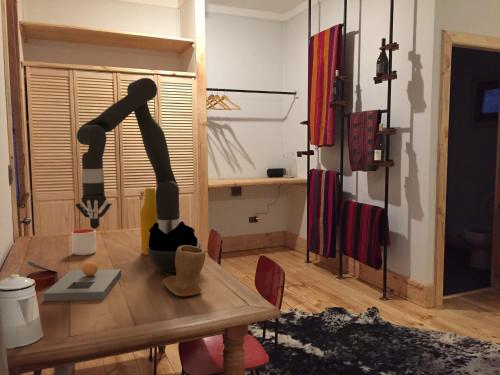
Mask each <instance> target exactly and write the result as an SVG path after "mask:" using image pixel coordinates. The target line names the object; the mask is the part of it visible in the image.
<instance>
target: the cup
mask: <svg viewBox="0 0 500 375" xmlns="http://www.w3.org/2000/svg"><path fill="white" fill-rule="evenodd" d="M96 230H97V229H92V228H84V229H83V228H82V229H75V230H73V231H71V249H72V250H71V251H72V254H73V255H76V256H88V255H89V256H90V255H92V254H95V253H96V252H97V232H96Z"/></svg>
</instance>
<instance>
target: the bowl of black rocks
mask: <svg viewBox="0 0 500 375" xmlns="http://www.w3.org/2000/svg"><path fill="white" fill-rule="evenodd" d="M149 232H150V236H149V245H148V246H147V252H148V255H147V256H148V258H149V260H150V261H151V263H152V264H153V265H154V266H155V267H156V268H158V269H159V270H161V271H164V272H168V273H176V267H175V256H176V250H177V248H178V247H180V246H183V245H189V246H194V247H198V248H201V243H199V241H198V238H197V236H196V234H195V229H194V228H193V227H192V226H189V225H187V224H185V222H184V221H181V220H180V223H179V225H177V227H176V228H175V229H173V230H172V231H170V232H169V233H168V234H165V233H164V232H163V231H161V230H160V229H159V223H157V222H156V223H154V224H153V226H152V227H151V228H150V230H149Z"/></svg>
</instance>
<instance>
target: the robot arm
mask: <svg viewBox="0 0 500 375" xmlns="http://www.w3.org/2000/svg"><path fill="white" fill-rule="evenodd" d="M126 89H127V90H126V93H127V94H126V96H124V97H123V98H120V99H119V100H117V101H115V102H114V103H113V104H112V105H110V106H109V107H107V108H105V110H104V111H102V113H100V114H99V115H98V116H96V117H95V118H93V119H91V120H88V121H87V122H85V123H84V124H82V125H81V126H80V127H79V129H77V132H76V139H77V141H78V143H79V144H82V145H84V146H88V148H87V149H88V150H87V151H86V152H84V153H83V154H82V157H81V167H82V168H81V171H82V172H81V187H82V188H81V189H82V196H81V199H80V201H79V202H77V203H76V204H75V207H76V208H77V209H78V210H79V212H80V213H81V214H82V215H83V217H84V218H89V223H90V228H91V229H94V230H97V229H99V227H100V218H102V217H103V216H105V215H106V213H107V212H108V211H109V210H110V208H111V207H112V205H113V203H112V202H111V201H110V202H109V200H108V199H107V196H106V194H105V174H104V159H103V157H104V153H105V149H106V144H107V133H109V132H112V131H113V130H114V129H116V128H117V127H118V126H119V125H120V124H121V123H122V122H124V120H126V119H127V118H128V117H129V116H130V115H131V114H132V113H134V116H135V118H136V122H137V125H138V129H139V132H140V135H141V136H140V137H141V139H142V144H143V148H144V151H145V154H146V157H147V158H148V160H149V163H150V165H151V167H152V170H153V172H154V175H155V180H156V186H157V187H156V188H155V191H156V211H157V223H159V229H160V230H161V231H163V232H164V233H165V234H168V233H169V232H170V231H172V230H173V229H175V228H176V227H177V225H179V223H180V222H181V219H180V218H181V217H180V216H181V215H180V214H181V213H180V187H179V185H178V182H177V180H176V177H175V175H174V173H173V169H172V163H171V159H170V157H171V156H170V152H169V148H168V144H167V139H166V135H165V133H164V130H163V129H162V127H161V126H160V124H159V123H158V122H157V121H156V120H155V118H154V117H153V116H152V113H151V111H150V107H149V103H148V102H149V101H151V100H153V99H154V98H155V97H156V96H157V94H158V86H157V84H156V82H155V81H154V80H153V79H152V78H150V77H141V78H138V79H137V80H134V81H132V82H130V83H129V84H128V86H127V88H126ZM103 206H104V208H103V209H102V210H101V208H102V207H103ZM86 208H87V209H86Z"/></svg>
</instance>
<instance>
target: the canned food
mask: <svg viewBox="0 0 500 375" xmlns="http://www.w3.org/2000/svg"><path fill="white" fill-rule="evenodd" d="M27 265H29V266H30V267H32V268H35V269H39V270H38V271H35V272H31V273H29V274H27V275H26V279H27V278H31V279H34V280H35V282H36V286H37V287H36V288H40V287H39V286H43V287H48V286H51V285H52V286H53V285H54V284H55V283H57V282H58V281H59V275H58V274H59V273H58V271H57V270H52V269H48V268H45V267H44V266H40V265H39V264H36V263H34V262H32V261H27Z"/></svg>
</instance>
